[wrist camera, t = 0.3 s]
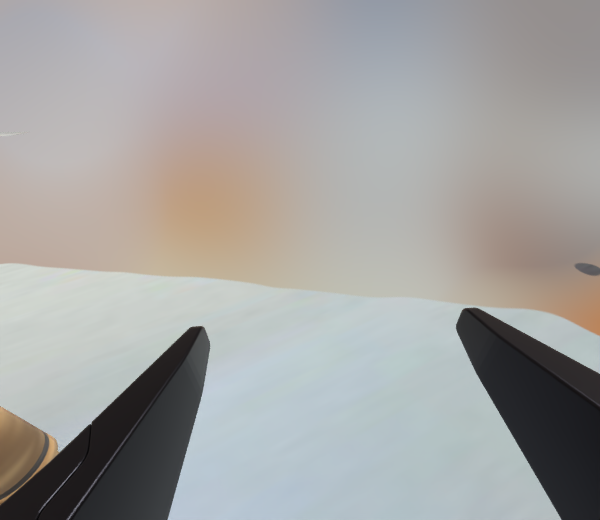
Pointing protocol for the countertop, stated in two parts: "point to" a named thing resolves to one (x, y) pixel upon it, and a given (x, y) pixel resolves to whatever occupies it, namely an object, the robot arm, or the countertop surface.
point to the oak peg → (21, 452)
